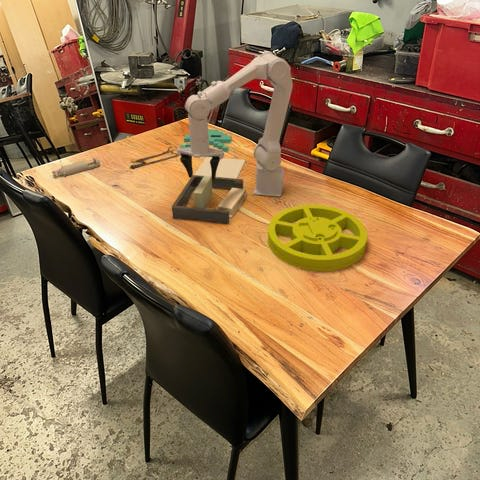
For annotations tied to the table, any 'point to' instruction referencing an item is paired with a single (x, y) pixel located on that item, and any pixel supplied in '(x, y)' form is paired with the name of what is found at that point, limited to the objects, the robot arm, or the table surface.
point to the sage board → (203, 192)
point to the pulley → (317, 237)
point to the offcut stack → (232, 201)
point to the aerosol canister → (76, 167)
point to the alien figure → (213, 139)
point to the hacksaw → (152, 157)
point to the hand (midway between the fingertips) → (202, 177)
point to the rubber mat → (222, 168)
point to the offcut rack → (202, 213)
